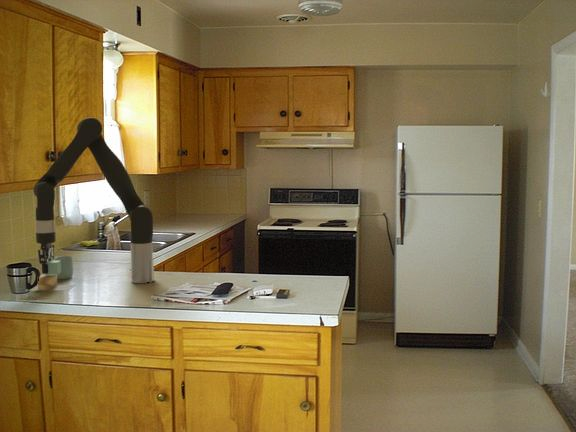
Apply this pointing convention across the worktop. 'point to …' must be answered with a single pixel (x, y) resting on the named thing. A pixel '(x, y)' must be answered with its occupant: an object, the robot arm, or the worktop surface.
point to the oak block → (47, 282)
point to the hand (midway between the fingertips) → (47, 272)
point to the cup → (65, 267)
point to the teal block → (54, 267)
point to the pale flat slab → (59, 287)
